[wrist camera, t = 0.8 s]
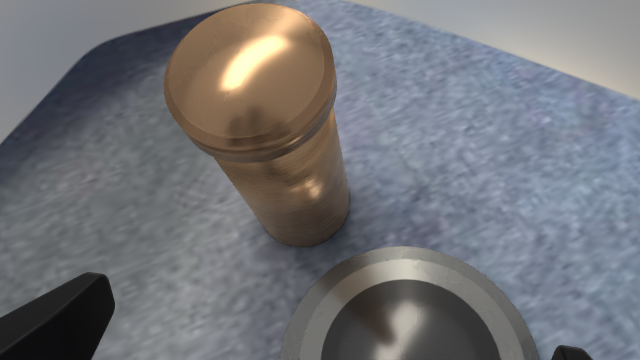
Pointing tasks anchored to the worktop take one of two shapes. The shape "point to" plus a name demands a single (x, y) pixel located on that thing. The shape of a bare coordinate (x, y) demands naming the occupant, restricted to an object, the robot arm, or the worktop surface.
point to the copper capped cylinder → (266, 115)
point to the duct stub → (406, 312)
